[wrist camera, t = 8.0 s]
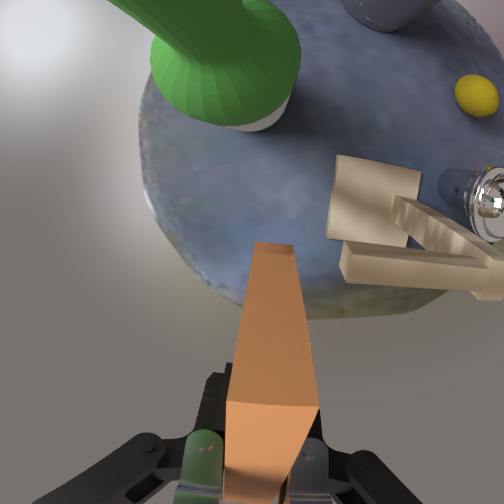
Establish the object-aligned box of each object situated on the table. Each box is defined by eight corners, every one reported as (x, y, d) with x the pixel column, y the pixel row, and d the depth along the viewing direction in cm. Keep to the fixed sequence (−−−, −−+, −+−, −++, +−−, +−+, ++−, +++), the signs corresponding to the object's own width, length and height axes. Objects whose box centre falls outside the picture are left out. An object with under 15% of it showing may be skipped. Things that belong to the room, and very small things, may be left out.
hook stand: (311, 150, 30) (368, 170, 12) (417, 170, 29) (532, 217, 11) (301, 232, 34) (328, 343, 16) (401, 244, 33) (486, 338, 15)
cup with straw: (470, 154, 27) (580, 188, 9) (469, 216, 31) (564, 280, 12) (424, 154, 28) (543, 188, 10) (425, 221, 32) (523, 299, 14)
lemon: (448, 116, 26) (485, 116, 19) (440, 76, 24) (475, 68, 17) (475, 117, 25) (512, 119, 18) (468, 79, 23) (503, 74, 16)
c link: (255, 241, 15) (226, 400, 5) (292, 245, 15) (319, 406, 5) (245, 355, 18) (224, 500, 8) (274, 357, 18) (271, 504, 8)
